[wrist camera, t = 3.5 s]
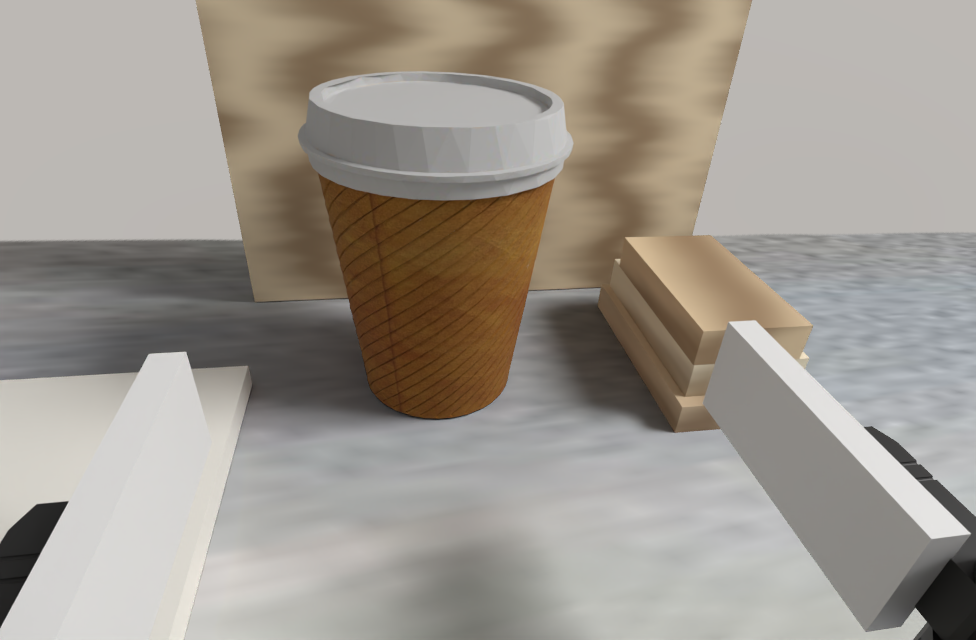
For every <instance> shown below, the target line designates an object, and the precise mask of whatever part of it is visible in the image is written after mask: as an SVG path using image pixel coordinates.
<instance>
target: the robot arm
mask: <svg viewBox="0 0 976 640" xmlns="http://www.w3.org/2000/svg"><path fill="white" fill-rule="evenodd" d="M703 405H704V406H705V408H706V409H707V410H708V412H709V413H710V415H711V416H712V417H713V419H714V420H715V422H716V423H717V424H718V426H719V427H720V429H721V430H722V431H723V433H724V434H725V436H726V437H727V438H728V440H729V441H730V443H731V444H732V445H733V447H734V448H735V450H736V451H737V452H738V454H739V455H740V457H741V458H742V459H743V461H744V462H745V464H746V465H747V466H748V468H749V469H750V471H751V472H752V473H753V475H754V476H755V478H756V479H757V480H758V482H759V483H760V485H761V486H762V487H763V489H764V490H765V492H766V493H767V494H768V496H769V497H770V499H771V500H772V501H773V503H774V504H775V506H776V507H777V508H778V510H779V511H780V513H781V514H782V515H783V517H784V518H785V520H786V521H787V522H788V524H789V525H790V527H791V528H792V529H793V531H794V532H795V534H796V535H797V536H798V538H799V539H800V541H801V542H802V543H803V545H804V546H805V548H806V549H807V550H808V552H809V553H810V555H811V556H812V557H813V559H814V560H815V562H816V563H817V564H818V566H819V567H820V569H821V570H822V571H823V573H824V574H825V576H826V577H827V578H828V580H829V581H830V583H831V584H832V585H833V587H834V588H835V590H836V591H837V592H838V594H839V595H840V596H841V598H842V599H843V601H844V602H845V603H846V605H847V606H848V608H849V609H850V610H851V612H852V613H853V615H854V616H855V617H856V619H857V620H858V622H859V623H860V624H861V626H862V627H863V629H864V630H865V631H866V632H869V631H875V630H882V629H888V628H894V627H901V626H902V624H903V623H904V622H905V620H906V619H907V618H908V616H909V615H910V614H911V613H912V611H913V610H914V609H915V607H916V609H917V610H918V611H919V612H920V614H921V615H922V616H923V617H924V618H925V620H926V621H927V623H926V624H925V626H924V627H923V628H922V629H921V631H920V632H919V633H918V634H917V636H916V637H915V638H914V639H913V640H976V517H975V516H974V515H973V514H972V513H971V512H970V511H969V510H968V509H967V508H966V507H965V506H964V505H963V504H961V503H960V502H959V501H958V500H957V499H956V498H955V497H954V496H953V495H952V494H951V493H950V492H949V491H948V490H947V489H946V488H945V487H944V486H943V485H942V484H941V483H939V482H938V481H937V480H933V478H932V477H933V476H932V475H931V474H930V473H929V472H928V471H927V470H926V469H925V468H924V467H923V466H922V465H921V464H920V465H918V464H917V462H916V460H915V459H914V458H913V457H912V456H911V455H910V454H909V453H908V452H907V451H906V450H905V449H904V448H903V447H902V446H901V445H900V444H899V443H898V442H896V441H895V440H893V439H891V438H890V437H888V436H886V435H885V434H883V433H882V432H880V431H878V430H877V429H875V428H874V427H872V426H871V427H863V426H862V425H861V424H860V423H859V422H858V421H857V420H856V419H855V418H854V417H853V416H852V415H850V414H849V413H848V412H847V411H846V410H845V409H844V408H843V407H842V406H841V405H840V404H839V403H838V402H837V401H836V400H835V399H834V398H833V397H832V396H831V395H830V394H829V393H828V392H827V391H826V390H825V389H824V388H823V387H822V386H821V385H820V384H819V383H818V382H817V381H816V380H815V379H814V378H813V377H812V376H811V375H810V374H809V373H808V372H807V371H806V370H805V369H804V368H803V367H802V366H801V365H800V364H799V363H798V362H797V361H796V360H795V359H794V358H793V357H792V356H791V355H790V354H789V353H788V352H787V351H786V350H785V349H784V348H783V347H782V346H781V345H780V344H779V343H778V342H777V341H776V340H775V339H774V338H773V337H772V336H771V335H770V334H769V333H768V332H767V331H766V330H765V329H764V328H763V327H762V326H761V325H760V324H759V323H758V322H757V321H756V320H752V321H734V322H728V325H727V328H726V331H725V334H724V337H723V340H722V343H721V347H720V350H719V353H718V356H717V359H716V362H715V365H714V369H713V372H712V375H711V378H710V381H709V384H708V388H707V391H706V394H705V397H704V400H703ZM211 444H212V441H211V437H210V434H209V430H208V427H207V423H206V420H205V416H204V413H203V409H202V406H201V402H200V398H199V395H198V391H197V388H196V384H195V381H194V377H193V374H192V370H191V367H190V363H189V360H188V356H187V353H186V352H173V353H154V354H149V355H148V357H147V358H146V360H145V362H144V364H143V366H142V368H141V369H140V371H139V373H138V375H137V377H136V379H135V380H134V382H133V384H132V386H131V388H130V390H129V392H128V393H127V395H126V397H125V399H124V401H123V403H122V404H121V406H120V408H119V410H118V412H117V414H116V416H115V417H114V419H113V421H112V423H111V425H110V427H109V428H108V430H107V432H106V434H105V436H104V438H103V440H102V441H101V443H100V445H99V447H98V449H97V451H96V452H95V454H94V456H93V458H92V460H91V462H90V464H89V465H88V467H87V469H86V471H85V473H84V475H83V476H82V478H81V480H80V482H79V484H78V486H77V487H76V489H75V491H74V493H73V495H72V497H71V499H70V500H69V501H64V502H53V503H42V504H36V505H35V506H34V507H33V508H32V509H31V510H30V511H28V512H27V513H26V514H25V515H24V516H23V517H22V518H21V519H20V520H19V521H17V522H16V523H15V524H14V525H13V526H12V527H11V528H10V529H9V530H8V531H7V533H6V535H5V536H4V538H3V539H2V541H1V543H0V640H149V637H150V634H151V631H152V628H153V625H154V622H155V619H156V615H157V612H158V609H159V606H160V603H161V600H162V597H163V594H164V590H165V587H166V584H167V581H168V578H169V575H170V572H171V569H172V565H173V562H174V559H175V556H176V553H177V550H178V547H179V544H180V541H181V537H182V534H183V531H184V528H185V525H186V522H187V519H188V516H189V512H190V509H191V506H192V503H193V500H194V497H195V494H196V491H197V487H198V484H199V481H200V478H201V475H202V472H203V469H204V466H205V462H206V459H207V456H208V453H209V450H210V447H211Z"/></svg>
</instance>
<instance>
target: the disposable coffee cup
mask: <svg viewBox="0 0 976 640" xmlns="http://www.w3.org/2000/svg"><path fill="white" fill-rule="evenodd" d="M298 140H299V143H300V145H301V147H302V149H303V151H304V152H305V153H307V154H308V157H309V161H310V163H311V165H312V167H313V169H315V170H316V171H317V172H318V175H319V179H320V183H321V188H322V192H323V196H324V199H325V206H326V209H327V212H328V215H329V222H330V225H331V229H332V232H333V238H334V242H335V245H336V251H337V255H338V258H339V261H340V267H341V271H342V274H343V279H344V283H345V286H346V289H347V291H346V292H347V296H348V299H349V302H350V309H351V312H352V315H353V320H354V324H355V327H356V333H357V336H358V339H359V345H360V348H361V351H362V357H363V361H364V364H365V369H366V373H367V378H368V383H369V386H370V389H371V390H372V391H373V393H374V394H375V395H376V397H377V398H378V399H379V400H380V401H381V402H383V403H384V404H385V405H387V406H389V407H390V408H392V409H394V410H396V411H399V412H402V413H405V414H408V415H411V416H416V417H421V418H436V419H440V418H452V417H458V416H462V415H467V414H470V413H472V412H474V411H477V410H479V409H482V408H484V407H485V406H487V405H489V404H490V403H492V402H493V401H494V400H495V399H496V398H497V397H498V396H499V395H500V394H501V392H502V391H503V389H504V387H505V386H506V383H507V379H508V374H509V369H510V365H511V361H512V357H513V352H514V348H515V344H516V339H517V335H518V331H519V327H520V323H521V319H522V314H523V311H524V307H525V302H526V298H527V294H528V289H529V285H530V281H531V276H532V272H533V268H534V264H535V260H536V257H537V252H538V248H539V244H540V239H541V234H542V230H543V226H544V222H545V217H546V213H547V209H548V205H549V200H550V196H551V192H552V188H553V184H554V181H555V177H556V176H557V175H558V174H559V173H560V171H561V170H562V169H563V164H564V160H565V159H567V158H568V157H569V155H570V153H571V151H572V148H573V140H572V137H571V134H570V133H569V132H568V131H567V130H566V122H565V111H564V102H563V101H562V100H561V98H560V97H559V96H558V95H556V94H555V93H553V92H552V91H549V90H547V89H544V88H542V87H539V86H536V85H533V84H529V83H525V82H521V81H516V80H512V79H507V78H500V77H493V76H487V75H477V74H466V73H455V72H429V71H405V72H383V73H372V74H364V75H356V76H348V77H344V78H339V79H335V80H331V81H328V82H325V83H322V84H320V85H318V86H316V87H314V88H313V89H312V90H311V91H310V92H309V101H308V110H307V119H306V123H305V124H304V125H303V126H302V127H301V128H300V130H299V133H298Z"/></svg>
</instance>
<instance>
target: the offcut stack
mask: <svg viewBox="0 0 976 640" xmlns="http://www.w3.org/2000/svg"><path fill="white" fill-rule="evenodd" d="M598 307H599V309H600V311H601V312H602V314H603V315H604V317H605V319H606V320H607V322H608V324H609V325H610V327H611V329H612V330H613V332H614V334H615V335H616V337H617V338H618V340H619V342H620V343H621V345H622V347H623V348H624V350H625V352H626V353H627V355H628V357H629V358H630V360H631V362H632V363H633V365H634V366H635V368H636V370H637V371H638V373H639V375H640V376H641V378H642V380H643V381H644V383H645V385H646V386H647V388H648V389H649V391H650V393H651V394H652V396H653V398H654V399H655V401H656V403H657V404H658V406H659V408H660V409H661V411H662V413H663V414H664V416H665V417H666V419H667V421H668V422H669V424H670V426H671V427H672V429H673V431H674V432H675V433H678V432H690V431H702V430H714V429H720V427H719V426H718V424H717V423H716V422H715V420H714V419H713V417H712V416H711V415H710V413H709V412H708V410H707V409H706V408H705V406H704V405H703V400H704V397H705V394H706V391H707V388H708V384H709V381H710V378H711V375H712V372H713V369H714V365H715V362H716V359H717V356H718V353H719V350H720V347H721V343H722V340H723V337H724V334H725V331H726V328H727V325H728V322H734V321H752V320H756V321H757V322H758V323H759V324H760V325H761V326H762V327H763V328H764V329H765V330H766V331H767V332H768V333H769V334H770V335H771V336H772V337H773V338H774V339H775V340H776V341H777V342H778V343H779V344H780V345H781V346H782V347H783V348H784V349H785V350H786V351H787V352H788V353H789V354H790V355H791V356H792V357H793V358H794V359H795V360H796V361H797V362H798V363H799V364H800V365H801V366H802V367H803V368H804V369H805V368H806V365H807V363H808V361H809V357H808V356H807V355H806V354H805V353H804V352H803V349H804V347H805V344H806V342H807V340H808V337H809V335H810V332H811V330H812V328H813V325H812V324H811V323H810V322H809V321H807V320H806V319H805V318H804V317H803V316H802V315H801V314H799V313H798V312H797V311H796V310H795V309H794V308H793V307H792V306H790V305H789V304H788V303H787V302H786V301H785V300H784V299H782V298H781V297H780V296H779V295H778V294H777V293H776V292H774V291H773V290H772V289H771V288H770V287H769V286H768V285H767V284H765V283H764V282H763V281H762V280H761V279H760V278H759V277H757V276H756V275H755V274H754V273H753V272H752V271H751V270H750V269H748V268H747V267H746V266H745V265H744V264H743V263H742V262H740V261H739V260H738V259H737V258H736V257H735V256H734V255H732V254H731V253H730V252H729V251H728V250H727V249H726V248H725V247H723V246H722V245H721V244H720V243H719V242H718V241H717V240H715V239H714V238H713V237H712V236H711V235H702V236H659V237H625V239H624V244H623V249H622V254H621V259H615V261H614V266H613V272H612V277H611V282H610V284H602V285H601V290H600V296H599V302H598Z"/></svg>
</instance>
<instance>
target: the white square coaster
mask: <svg viewBox="0 0 976 640" xmlns="http://www.w3.org/2000/svg"><path fill="white" fill-rule="evenodd" d="M191 370H192V374H193V377H194V381H195V384H196V388H197V391H198V395H199V398H200V402H201V406H202V409H203V413H204V416H205V420H206V423H207V427H208V430H209V434H210V437H211V441H212V444H211V447H210V450H209V453H208V456H207V459H206V462H205V466H204V469H203V472H202V475H201V478H200V481H199V484H198V487H197V491H196V494H195V497H194V500H193V503H192V506H191V509H190V512H189V516H188V519H187V522H186V525H185V528H184V531H183V534H182V537H181V541H180V544H179V547H178V550H177V553H176V556H175V559H174V562H173V565H172V569H171V572H170V575H169V578H168V581H167V584H166V587H165V590H164V594H163V597H162V600H161V603H160V606H159V609H158V612H157V615H156V619H155V622H154V625H153V628H152V631H151V634H150V637H149V640H184V636H185V632H186V629H187V625H188V621H189V617H190V614H191V610H192V606H193V603H194V599H195V595H196V591H197V588H198V584H199V580H200V577H201V573H202V569H203V566H204V562H205V558H206V554H207V551H208V547H209V543H210V540H211V536H212V532H213V528H214V525H215V521H216V517H217V514H218V510H219V506H220V502H221V499H222V495H223V491H224V488H225V484H226V480H227V477H228V473H229V469H230V465H231V462H232V458H233V454H234V451H235V447H236V443H237V439H238V436H239V432H240V428H241V425H242V421H243V417H244V413H245V410H246V406H247V402H248V399H249V395H250V391H251V388H252V380H251V376H250V371H249V366H234V367H217V368H201V369H191ZM138 373H139V372H133V373H116V374H100V375H83V376H66V377H49V378H32V379H16V380H0V543H1V541H2V539H3V538H4V536H5V535H6V533H7V531H8V530H9V529H10V528H11V527H12V526H13V525H14V524H15V523H16V522H17V521H19V520H20V519H21V518H22V517H23V516H24V515H25V514H26V513H27V512H28V511H30V510H31V509H32V508H33V507H34V506H35V505H36V504H42V503H53V502H64V501H69V500H70V499H71V497H72V495H73V493H74V491H75V489H76V487H77V486H78V484H79V482H80V480H81V478H82V476H83V475H84V473H85V471H86V469H87V467H88V465H89V464H90V462H91V460H92V458H93V456H94V454H95V452H96V451H97V449H98V447H99V445H100V443H101V441H102V440H103V438H104V436H105V434H106V432H107V430H108V428H109V427H110V425H111V423H112V421H113V419H114V417H115V416H116V414H117V412H118V410H119V408H120V406H121V404H122V403H123V401H124V399H125V397H126V395H127V393H128V392H129V390H130V388H131V386H132V384H133V382H134V380H135V379H136V377H137V375H138Z"/></svg>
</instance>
